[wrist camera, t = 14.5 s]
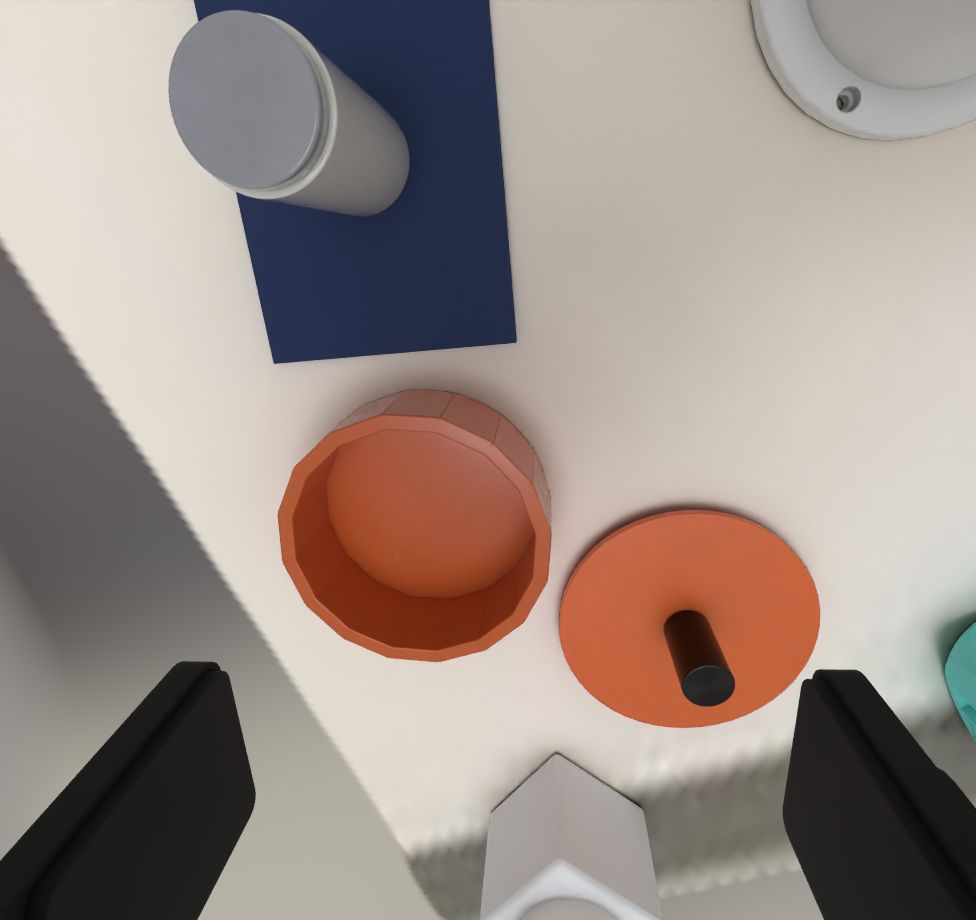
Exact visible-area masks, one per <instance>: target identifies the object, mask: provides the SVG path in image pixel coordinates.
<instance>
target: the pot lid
mask: <svg viewBox="0 0 976 920" xmlns="http://www.w3.org/2000/svg"><path fill="white" fill-rule="evenodd" d="M819 626H820V606H819V599H818V594H817V591H816V587H815V584H814V581H813V579H812V577H811V575H810V573H809V571H808V570H807V568H806V566H805V565H804V564H803V562H802V561H801V559H800V558H799V557H798V555H797V554H796V553H795V552H794V551H793V550H792V549H791V548H790V547H789V546H788V545H787V544H786V543H785V542H784V541H783V540H782V539H780V538H779V537H778V536H776V535H775V534H774V533H772V532H771V531H770V530H768V529H766V528H764V527H762V526H760V525H759V524H757V523H755V522H752V521H750V520H747V519H744V518H742V517H739V516H735V515H731V514H727V513H723V512H716V511H708V510H681V511H671V512H665V513H661V514H657V515H652V516H649V517H646V518H643V519H640V520H637V521H635V522H632V523H630V524H628V525H626V526H624V527H622V528H620V529H618V530H617V531H615V532H614V533H612V534H611V535H609V536H608V537H606V538H604V539H603V540H602V541H601V542H600V543H599V544H597V545H596V546H595V547H594V548H593V549H592V550H591V551H590V552H589V553H588V554H587V555H586V556H585V557H584V558H583V559H582V561H581V562H580V563H579V565H578V566H577V568H576V569H575V571H574V572H573V574H572V576H571V578H570V580H569V582H568V584H567V586H566V588H565V591H564V594H563V597H562V601H561V607H560V613H559V632H560V639H561V645H562V649H563V652H564V655H565V658H566V660H567V662H568V664H569V666H570V669H571V670H572V672H573V673H574V675H575V676H576V678H577V679H578V681H579V682H580V683H581V684H582V685H583V687H584V688H585V689H586V690H587V691H588V692H589V693H590V694H591V695H592V696H594V697H595V698H596V699H597V700H598V701H599V702H601V703H602V704H604V705H606V706H607V707H609V708H610V709H612V710H614V711H616V712H618V713H620V714H622V715H624V716H626V717H629V718H631V719H634V720H637V721H640V722H644V723H648V724H652V725H657V726H664V727H676V728H691V727H703V726H710V725H716V724H720V723H724V722H727V721H731V720H734V719H737V718H739V717H742V716H745V715H747V714H749V713H751V712H753V711H755V710H757V709H759V708H761V707H763V706H764V705H766V704H767V703H769V702H770V701H772V700H773V699H775V698H776V697H777V696H778V695H779V694H781V693H782V692H783V691H784V690H785V689H787V687H788V686H789V685H790V684H791V683H792V682H793V681H794V680H795V679H796V678H797V677H798V675H799V674H800V672H801V671H802V670H803V668H804V667H805V665H806V663H807V662H808V660H809V658H810V656H811V654H812V652H813V649H814V646H815V643H816V640H817V637H818V631H819Z"/></svg>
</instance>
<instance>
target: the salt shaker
mask: <svg viewBox="0 0 976 920" xmlns="http://www.w3.org/2000/svg"><path fill="white" fill-rule="evenodd" d="M169 102H170V107H171V112H172V116H173V119H174V123H175V126H176V128H177V130H178V133H179V135H180V137H181V139H182V141H183V143H184V144H185V146H186V147H187V149H188V150H189V152H190V153H191V155H192V156H193V157H194V158H195V159H196V161H197V162H198V163H199V164H200V165H201V166H202V167H203V168H204V169H205V170H207V171H208V172H209V173H210V174H212V175H213V176H214V177H215V178H216V179H217V180H218V181H220V182H221V183H223V184H224V185H225V186H227V187H228V188H230V189H232V190H234V191H236V192H238V193H240V194H243V195H245V196H249V197H253V198H257V199H263V200H268V201H273V202H279V203H284V204H290V205H295V206H301V207H306V208H312V209H317V210H322V211H328V212H333V213H339V214H344V215H350V216H357V217H365V216H371V215H374V214H377V213H380V212H382V211H383V210H385V209H387V208H388V207H389V206H390V205H392V204H393V203H394V202H395V200H396V199H397V198H398V197H399V195H400V194H401V192H402V190H403V188H404V186H405V183H406V180H407V177H408V172H409V150H408V145H407V142H406V138H405V136H404V134H403V131H402V129H401V128H400V126H399V124H398V123H397V121H396V120H395V119H394V117H393V116H392V115H391V114H390V113H389V112H388V111H387V110H386V109H384V108H383V107H382V106H381V105H380V104H379V103H378V102H377V101H376V100H374V99H373V98H372V97H371V96H370V95H369V94H368V93H367V92H366V91H364V90H363V89H362V88H361V87H360V86H359V85H358V84H357V83H356V82H354V81H353V80H352V79H351V78H350V77H349V76H348V75H347V74H346V73H344V72H343V71H342V70H341V69H340V68H339V67H338V66H337V65H336V64H334V63H333V62H332V61H331V60H330V59H329V58H328V57H327V56H326V55H324V54H323V53H322V52H321V51H320V50H319V49H318V48H317V47H315V46H314V45H313V44H312V43H311V42H310V41H309V40H308V39H307V38H305V37H304V36H303V35H302V34H301V33H300V32H298V31H297V30H296V29H295V28H293V27H292V26H290V25H289V24H287V23H285V22H284V21H282V20H280V19H277V18H275V17H272V16H269V15H265V14H261V13H253V12H249V11H243V10H227V11H222V12H218V13H214V14H212V15H210V16H207V17H205V18H204V19H202V20H201V21H199V22H198V23H196V24H195V25H194V26H193V27H192V28H191V29H190V30H189V31H188V32H187V34H186V35H185V36H184V37H183V39H182V40H181V42H180V44H179V46H178V47H177V50H176V52H175V55H174V57H173V61H172V64H171V68H170V75H169Z"/></svg>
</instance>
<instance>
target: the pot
mask: <svg viewBox="0 0 976 920" xmlns="http://www.w3.org/2000/svg"><path fill="white" fill-rule="evenodd" d="M278 523H279V533H280V543H281V553H282V561H283V564H284V566H285V568H286V570H287V571H288V573H289V575H290V577H291V579H292V581H293V583H294V584H295V586H296V588H297V590H298V592H299V594H300V596H301V597H302V599H303V601H304V603H305V604H306V606H307V607H308V608H309V609H311V610H312V611H313V612H314V613H315V614H316V615H317V616H318V617H320V618H321V619H322V620H323V621H324V622H325V623H326V624H327V625H329V626H330V627H331V628H332V629H333V630H334V631H335V632H336V633H337V634H339V635H340V636H341V637H342V638H344V639H345V640H348V641H350V642H352V643H355V644H357V645H359V646H362V647H364V648H366V649H369V650H371V651H373V652H376V653H378V654H380V655H383V656H385V657H387V658H389V657H390V658H394V659H406V660H418V661H429V662H442V661H446V660H450V659H453V658H457V657H461V656H465V655H469V654H473V653H477V652H481V651H484V650H487V649H488V648H490V647H491V646H492V645H494V644H495V643H496V642H498V641H499V640H501V639H502V638H503V637H505V636H506V635H507V634H509V633H510V632H512V631H513V630H514V629H516V628H517V627H519V626H520V625H521V624H523V622H524V621H525V620H526V618H527V617H528V615H529V613H530V611H531V610H532V608H533V606H534V604H535V603H536V601H537V599H538V597H539V596H540V594H541V592H542V590H543V589H544V587H545V585H546V583H547V581H548V573H549V560H550V547H551V502H550V491H549V488H548V486H547V483H546V480H545V476H544V473H543V469H542V467H541V465H540V462H539V460H538V458H537V456H536V453H535V451H534V450H533V448H532V447H531V446H530V444H529V443H528V441H527V440H526V439H525V438H524V437H523V435H522V434H521V433H520V432H519V430H518V429H517V428H516V427H514V426H513V425H512V424H511V423H510V422H509V421H508V420H507V419H506V418H504V417H503V416H502V415H500V414H499V413H497V412H496V411H495V410H493V409H491V408H490V407H488V406H486V405H484V404H482V403H480V402H478V401H476V400H473V399H471V398H468V397H466V396H463V395H459V394H455V393H451V392H446V391H438V390H412V391H402V392H399V393H395V394H392V395H388V396H385V397H382V398H380V399H378V400H376V401H373V402H371V403H369V404H366V405H363V406H361V407H359V408H358V409H357V410H356V411H354V412H353V413H352V414H351V415H350V416H349V417H347V418H346V419H345V420H344V421H343V422H341V423H340V424H339V425H338V426H337V427H336V428H334V429H333V430H332V431H331V432H330V433H329V434H328V435H327V436H326V437H325V438H324V439H322V440H321V441H320V442H319V443H318V444H317V445H316V446H315V447H314V448H313V449H312V450H311V451H310V452H309V453H308V454H307V455H306V456H305V457H304V458H303V459H302V460H301V461H300V462H299V463H298V464H297V465H296V466H295V467H294V469H293V471H292V474H291V477H290V480H289V483H288V485H287V488H286V491H285V494H284V497H283V500H282V502H281V505H280V508H279V511H278Z"/></svg>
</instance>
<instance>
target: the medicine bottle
mask: <svg viewBox="0 0 976 920" xmlns="http://www.w3.org/2000/svg"><path fill="white" fill-rule="evenodd" d="M480 920H663V919H662V913H661V907H660V902H659V896H658V891H657V885H656V879H655V874H654V868H653V863H652V857H651V851H650V846H649V840H648V834H647V829H646V823H645V818H644V812H643V810H642V809H641V808H640V807H639V806H637V805H636V804H634V803H633V802H631V801H629V800H628V799H626V798H625V797H623V796H622V795H620V794H619V793H617V792H616V791H614V790H613V789H611V788H610V787H608V786H606V785H605V784H603V783H602V782H600V781H599V780H597V779H596V778H594V777H593V776H591V775H590V774H588V773H587V772H585V771H583V770H582V769H580V768H579V767H577V766H576V765H574V764H573V763H571V762H570V761H568V760H567V759H565V758H564V757H562V756H560V755H558V754H556V755H554V756H552V757H551V758H550V759H549V760H548V761H547V762H546V763H545V764H544V765H543V766H542V767H540V768H539V769H538V770H537V771H536V772H535V773H534V774H533V775H532V776H531V777H530V778H529V779H527V780H526V781H525V782H524V783H523V784H522V785H521V786H520V787H519V788H518V789H517V790H516V791H515V792H513V793H512V794H511V795H510V796H509V797H508V798H507V799H506V800H505V801H504V802H503V803H502V804H501V805H499V806H498V807H497V808H496V809H495V810H494V811H493V812H492V813H491V815H490V818H489V829H488V839H487V850H486V860H485V871H484V881H483V892H482V902H481V913H480Z"/></svg>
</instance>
